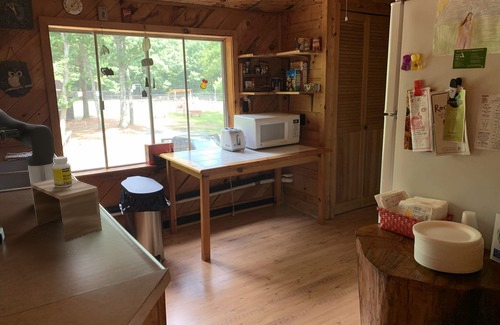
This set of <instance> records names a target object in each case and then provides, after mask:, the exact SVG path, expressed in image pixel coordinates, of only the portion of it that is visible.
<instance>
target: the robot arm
mask: <svg viewBox="0 0 500 325" xmlns="http://www.w3.org/2000/svg"><path fill="white" fill-rule="evenodd" d="M7 139H12V140H14V141H16V142H18V143H20V144H22V145H24V146H25V147H29V148H31V155H30V156H28V157H27V158H26V163H27V168H28V175H29V176H28V177H29V182H30V185H31V184H32V183H37V182H42V181H47V180H52V179H54V177H53V169H52V166H53V165H54V164H55V163H54V158H55V142H54V135H53V131H52V130H51V129H50V127H49V126H47V125H43V124H34V123H32V124H31V123H28V122H23V121H21V120H18V119H16V118H13V117H12V116H10V115H8V114H7V113H6V112H5V111H3V109H1V108H0V141H6V140H7ZM30 188H31V187H30ZM31 191H32V188H31ZM31 195H32V194H31ZM32 198H33V195H32ZM32 202H33V201H32ZM33 204H34V202H33Z"/></svg>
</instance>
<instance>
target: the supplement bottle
mask: <svg viewBox="0 0 500 325" xmlns="http://www.w3.org/2000/svg"><path fill="white" fill-rule="evenodd" d="M53 163H54V165H53V166H52V169H53V177H54V185H55V187H57V188H63V187H69V186H71V185H72V179H73V177H72V176H73V175H72V169H71V167H72V166H71V164H70V162H68V157H67V156H56V157H53Z"/></svg>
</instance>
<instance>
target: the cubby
mask: <svg viewBox="0 0 500 325" xmlns="http://www.w3.org/2000/svg"><path fill="white" fill-rule="evenodd" d="M30 188H32V190H31V195H33V197H32V202H34V203H33V207H34V214H35V221H36V226H42V225H44V224H47V223H51V222H54V221H58V220H62V222H61V223H62V228H63V236H64V242H66V243H67V242H70V241H73V240H75V239H79V238H81V237H85V236H88V235H90V234H94V233H96V232H99V231H102V230H103V226H102V218H101V208H100V200H99V191H98V186H95V185H92V184H89V183H85V182H83V181H80V180H77V179H73V178H72V185H71V186H69V187H63V188H57V187H55V185H54V179H52V180H47V181H42V182H37V183H32V184H31V183H30Z"/></svg>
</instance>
